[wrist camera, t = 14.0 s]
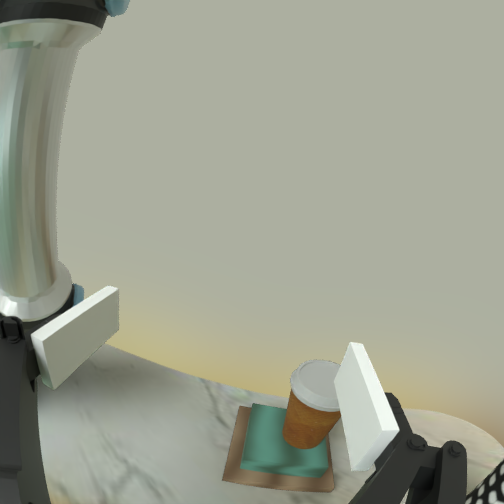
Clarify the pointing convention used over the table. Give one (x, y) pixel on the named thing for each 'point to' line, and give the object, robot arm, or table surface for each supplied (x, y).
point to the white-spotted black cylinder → (489, 488)
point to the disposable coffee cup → (311, 404)
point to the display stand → (275, 455)
